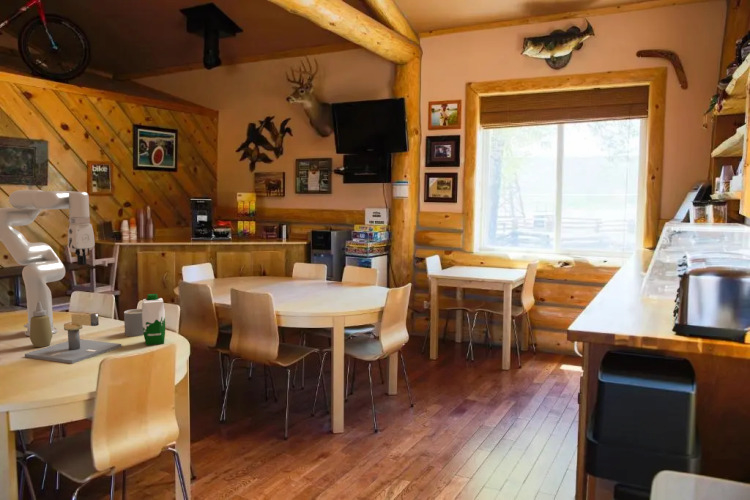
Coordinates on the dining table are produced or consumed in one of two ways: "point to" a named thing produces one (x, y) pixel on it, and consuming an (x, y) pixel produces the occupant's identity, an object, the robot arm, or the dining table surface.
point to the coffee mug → (133, 322)
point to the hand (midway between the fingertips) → (82, 264)
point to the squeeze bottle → (40, 328)
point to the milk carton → (153, 319)
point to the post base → (72, 353)
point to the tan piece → (81, 321)
